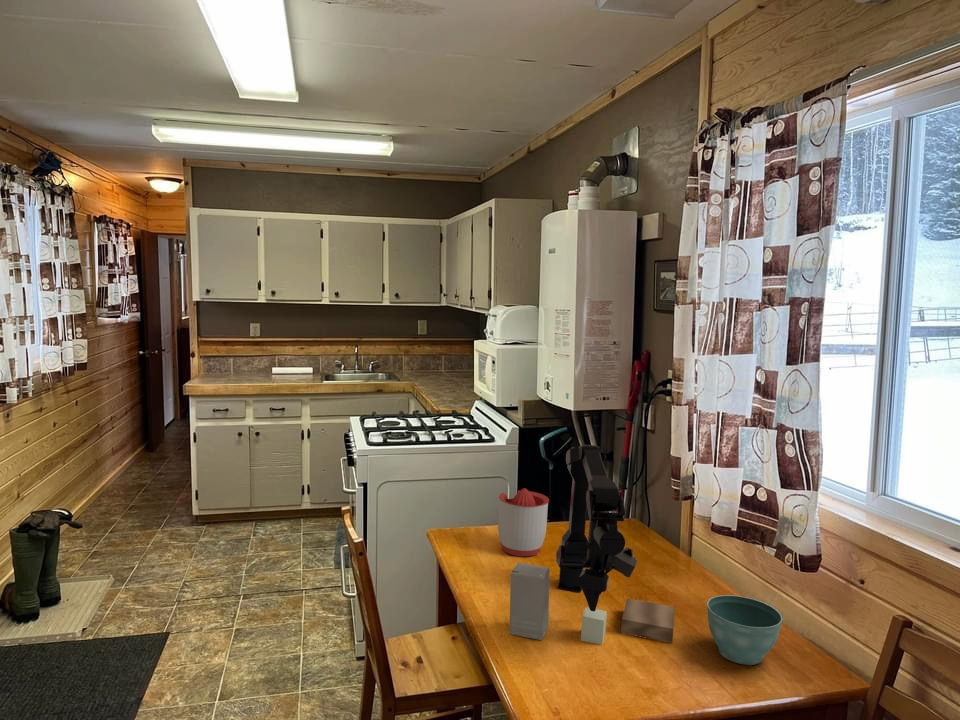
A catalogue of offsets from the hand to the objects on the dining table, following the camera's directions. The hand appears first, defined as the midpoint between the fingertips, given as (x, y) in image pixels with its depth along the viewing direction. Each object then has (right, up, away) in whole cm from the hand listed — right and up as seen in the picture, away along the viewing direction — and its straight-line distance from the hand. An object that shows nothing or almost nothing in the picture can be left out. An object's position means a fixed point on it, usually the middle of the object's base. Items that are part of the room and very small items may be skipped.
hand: (595, 602), depth 162 cm
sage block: (0, -9, +1) cm, 9 cm away
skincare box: (-16, -8, +1) cm, 18 cm away
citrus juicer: (-15, -2, +53) cm, 55 cm away
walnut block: (+14, -9, +8) cm, 19 cm away
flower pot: (+33, -11, -3) cm, 35 cm away
